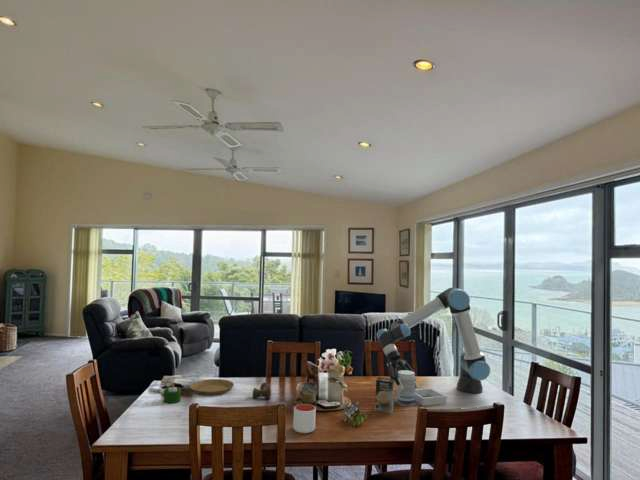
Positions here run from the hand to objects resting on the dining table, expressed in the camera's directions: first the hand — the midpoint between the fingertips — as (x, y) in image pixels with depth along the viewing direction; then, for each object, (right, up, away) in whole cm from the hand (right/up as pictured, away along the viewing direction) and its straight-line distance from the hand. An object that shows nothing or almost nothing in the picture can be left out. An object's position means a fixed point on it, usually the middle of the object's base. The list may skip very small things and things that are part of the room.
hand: (409, 388), depth 237 cm
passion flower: (-33, -6, -30) cm, 45 cm away
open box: (+11, -9, +7) cm, 16 cm away
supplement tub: (-2, -7, +3) cm, 7 cm away
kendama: (-81, -6, +4) cm, 82 cm away
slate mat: (-2, -8, +2) cm, 9 cm away
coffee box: (-16, -7, -12) cm, 21 cm away
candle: (-127, -3, -10) cm, 128 cm away
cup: (-57, -5, -41) cm, 70 cm away
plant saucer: (-111, -5, +11) cm, 112 cm away
